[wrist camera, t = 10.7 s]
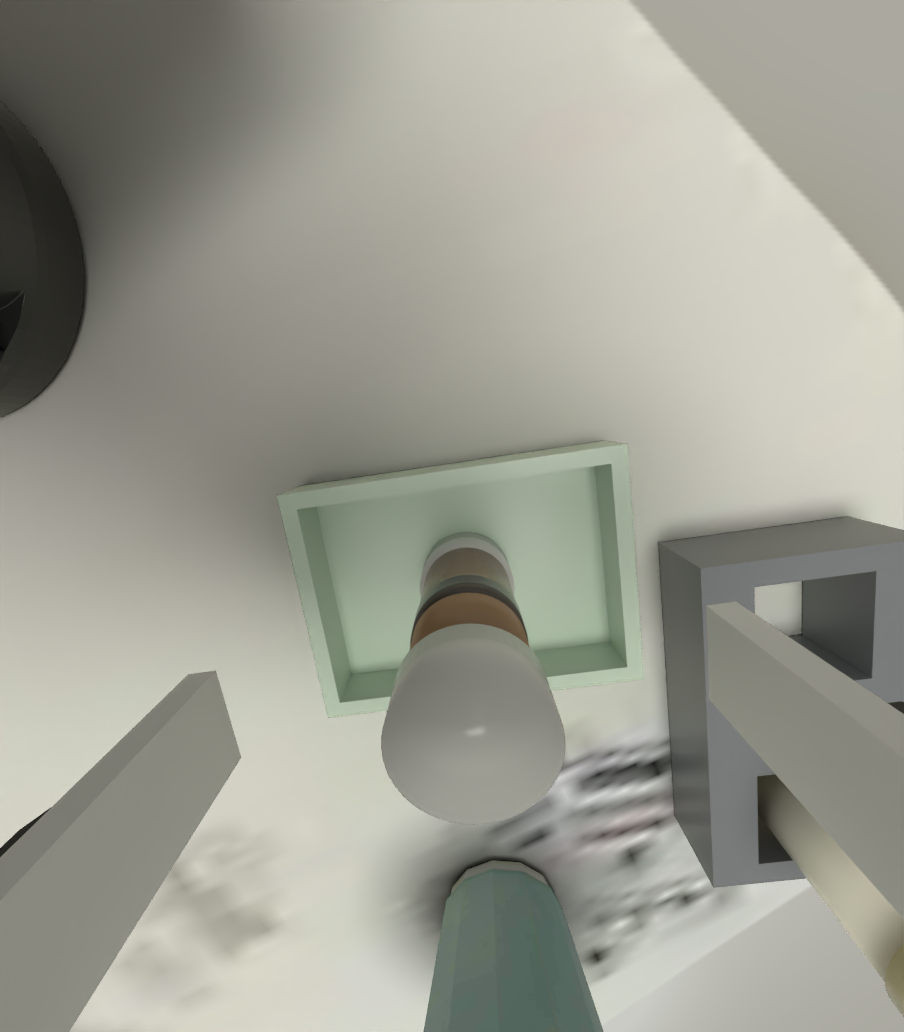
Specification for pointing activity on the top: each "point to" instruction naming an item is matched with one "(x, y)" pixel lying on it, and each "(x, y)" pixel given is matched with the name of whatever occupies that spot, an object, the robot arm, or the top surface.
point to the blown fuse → (471, 694)
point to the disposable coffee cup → (507, 958)
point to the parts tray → (484, 510)
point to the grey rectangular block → (825, 632)
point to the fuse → (837, 883)
